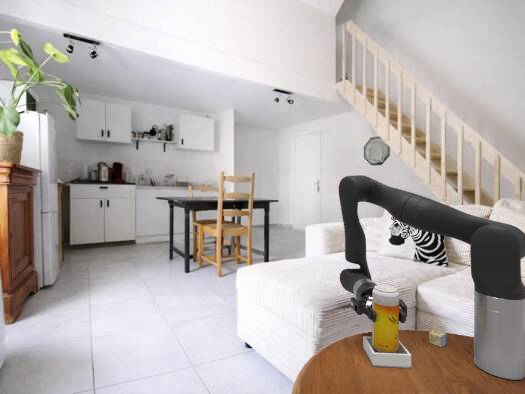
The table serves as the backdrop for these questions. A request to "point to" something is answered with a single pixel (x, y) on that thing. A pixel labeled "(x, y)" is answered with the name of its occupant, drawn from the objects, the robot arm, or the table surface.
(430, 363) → the table surface
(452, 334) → the table surface
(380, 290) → the beer can
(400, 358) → the white square tray
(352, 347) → the table surface
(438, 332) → the alphabet block
